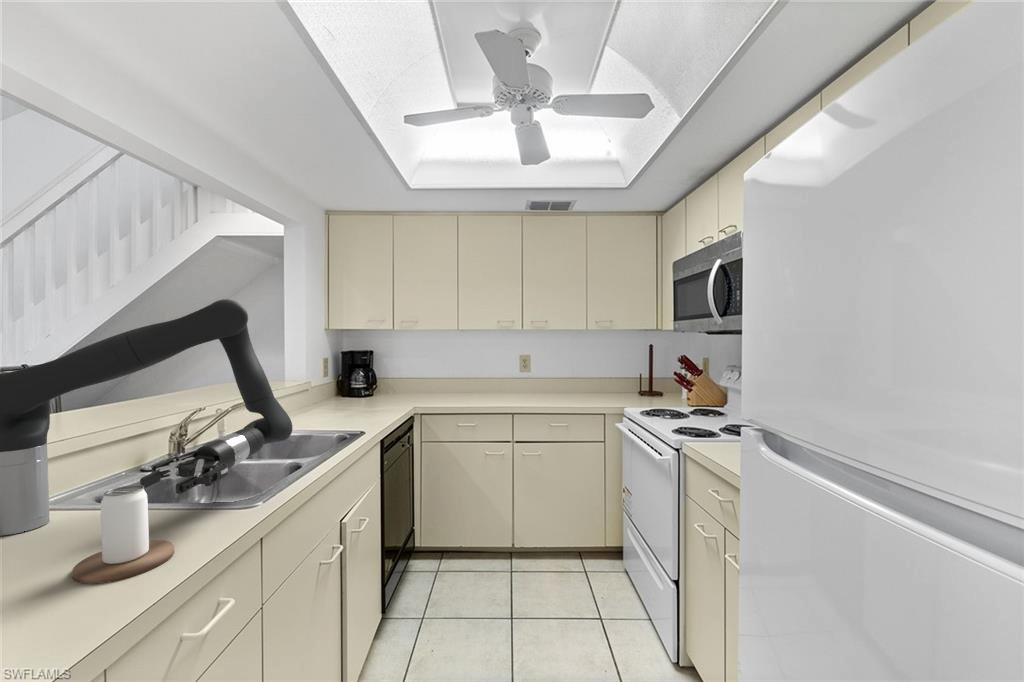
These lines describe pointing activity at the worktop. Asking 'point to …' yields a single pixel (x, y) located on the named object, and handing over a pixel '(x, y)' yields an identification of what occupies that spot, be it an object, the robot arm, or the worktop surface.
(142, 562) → the disc
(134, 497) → the can
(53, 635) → the worktop surface
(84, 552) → the worktop surface
